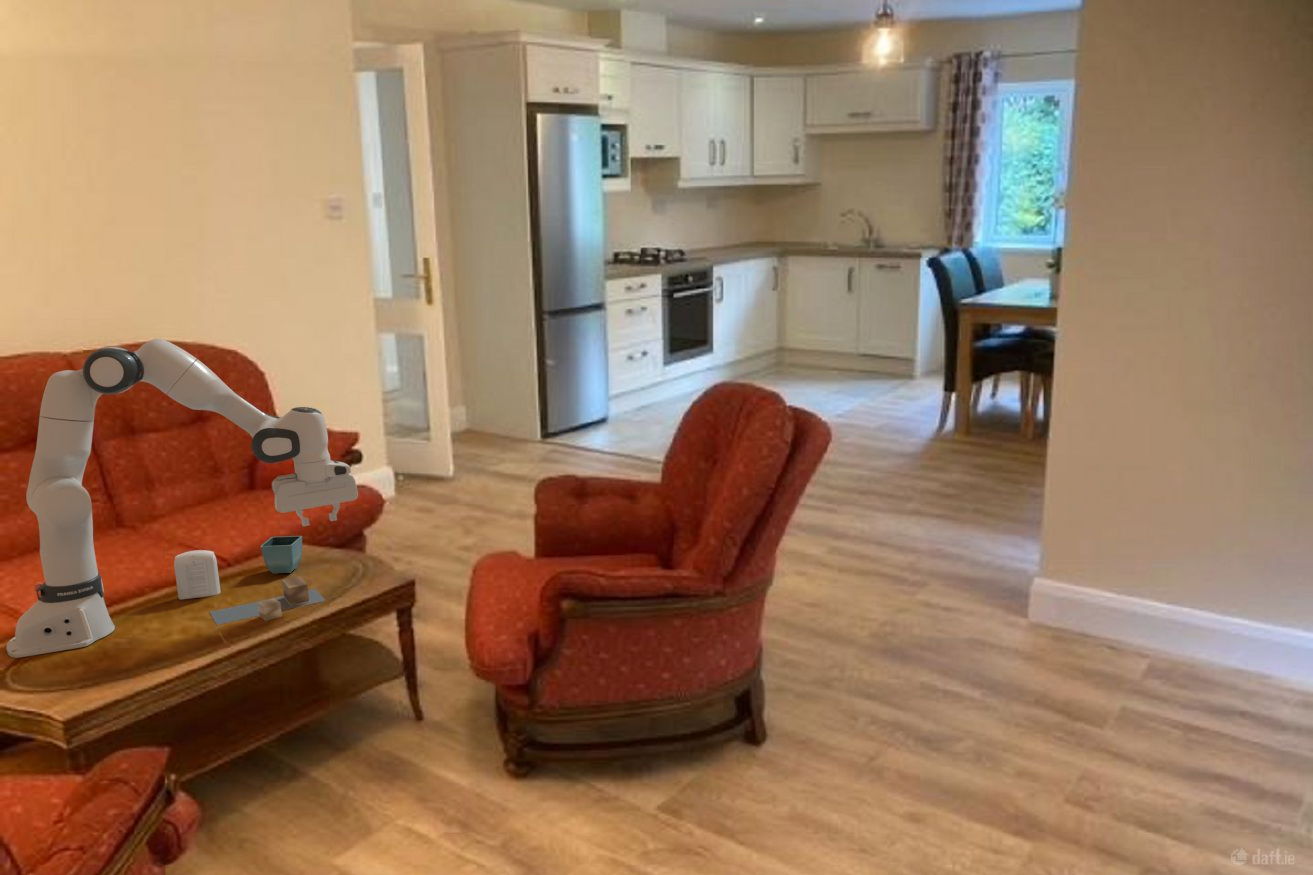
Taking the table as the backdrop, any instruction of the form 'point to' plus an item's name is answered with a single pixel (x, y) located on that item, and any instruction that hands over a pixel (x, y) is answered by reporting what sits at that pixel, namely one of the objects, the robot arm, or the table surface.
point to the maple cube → (269, 609)
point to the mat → (252, 608)
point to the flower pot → (282, 553)
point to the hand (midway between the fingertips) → (319, 522)
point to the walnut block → (295, 591)
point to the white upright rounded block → (196, 574)
